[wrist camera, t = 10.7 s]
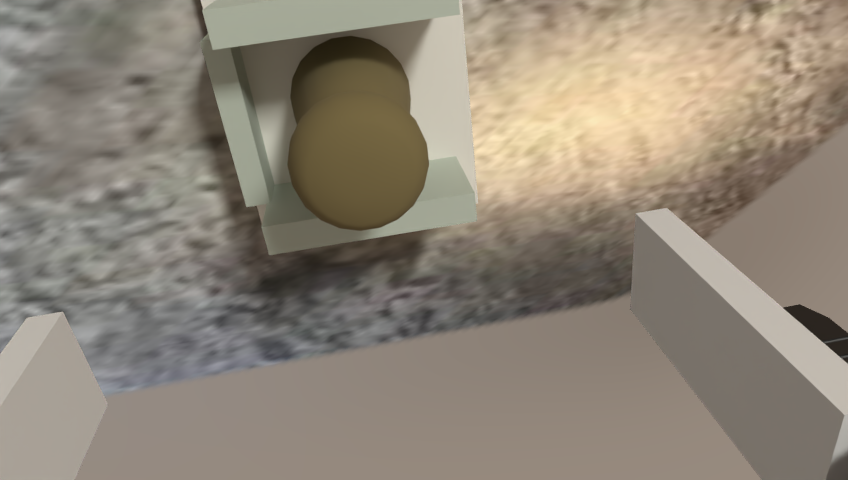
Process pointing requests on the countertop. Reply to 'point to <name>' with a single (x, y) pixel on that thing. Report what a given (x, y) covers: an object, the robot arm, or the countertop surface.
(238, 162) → the holder
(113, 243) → the countertop surface
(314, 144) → the brown rounded knob
